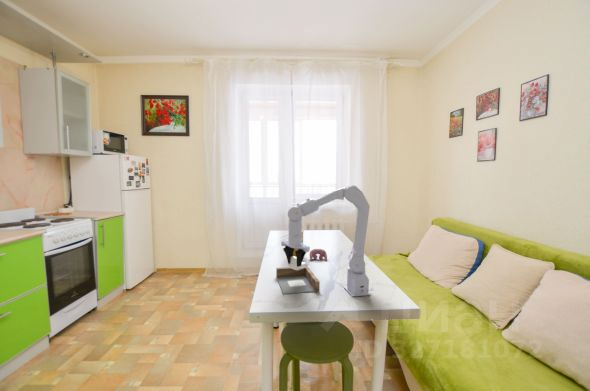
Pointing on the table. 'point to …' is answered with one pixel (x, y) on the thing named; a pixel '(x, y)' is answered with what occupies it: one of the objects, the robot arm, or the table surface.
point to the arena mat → (295, 285)
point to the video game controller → (318, 251)
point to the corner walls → (302, 272)
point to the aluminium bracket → (294, 263)
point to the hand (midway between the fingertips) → (294, 264)
